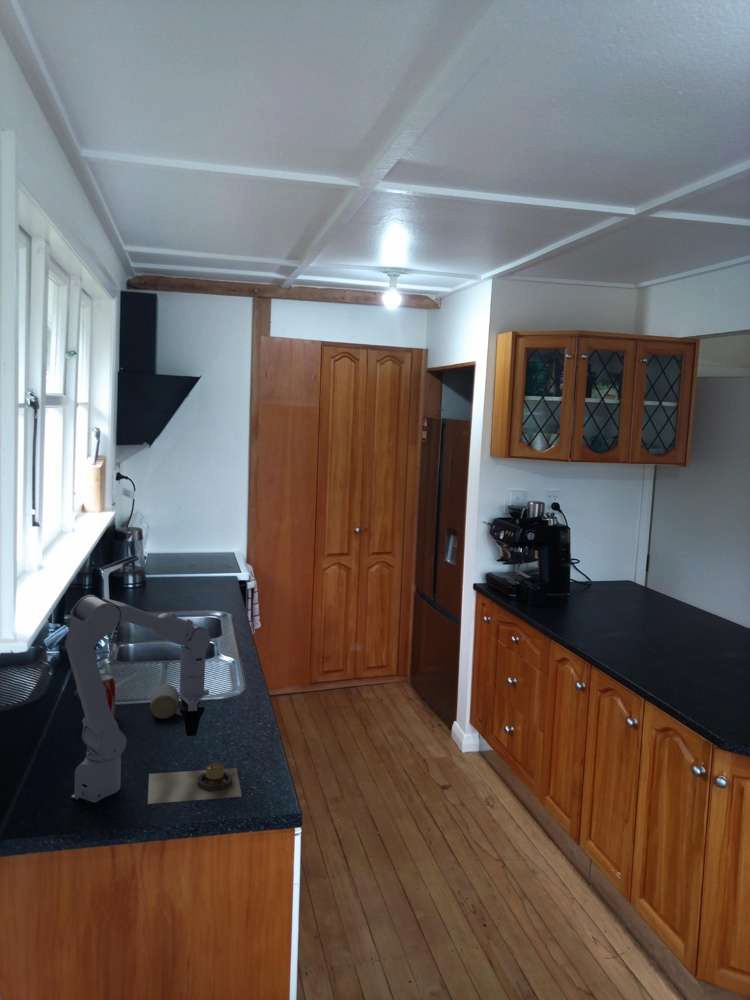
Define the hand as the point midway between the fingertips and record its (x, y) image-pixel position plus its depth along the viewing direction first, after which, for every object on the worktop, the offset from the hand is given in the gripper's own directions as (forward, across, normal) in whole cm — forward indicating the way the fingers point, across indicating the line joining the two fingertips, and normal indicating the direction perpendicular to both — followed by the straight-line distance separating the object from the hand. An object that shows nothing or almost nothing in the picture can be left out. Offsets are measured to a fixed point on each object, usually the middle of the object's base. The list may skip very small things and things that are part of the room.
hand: (190, 728), depth 185 cm
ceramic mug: (+10, +33, +5) cm, 35 cm away
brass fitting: (+8, -12, -5) cm, 15 cm away
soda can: (+10, +32, +23) cm, 40 cm away
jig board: (+9, -12, -1) cm, 15 cm away
